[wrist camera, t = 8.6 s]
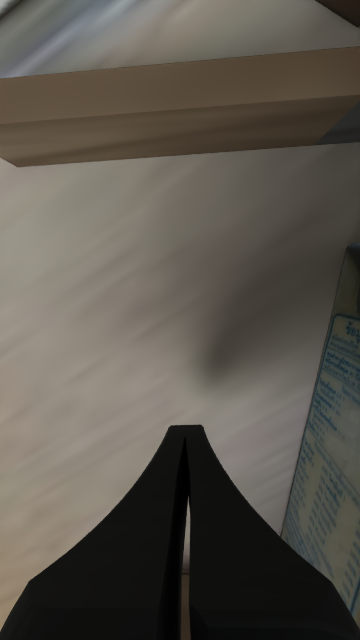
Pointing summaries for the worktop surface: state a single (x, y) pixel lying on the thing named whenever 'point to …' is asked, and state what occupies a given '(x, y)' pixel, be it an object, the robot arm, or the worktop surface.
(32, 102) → the tray
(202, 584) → the robot arm
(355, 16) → the beer bottle
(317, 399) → the beverage carton
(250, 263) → the worktop surface
